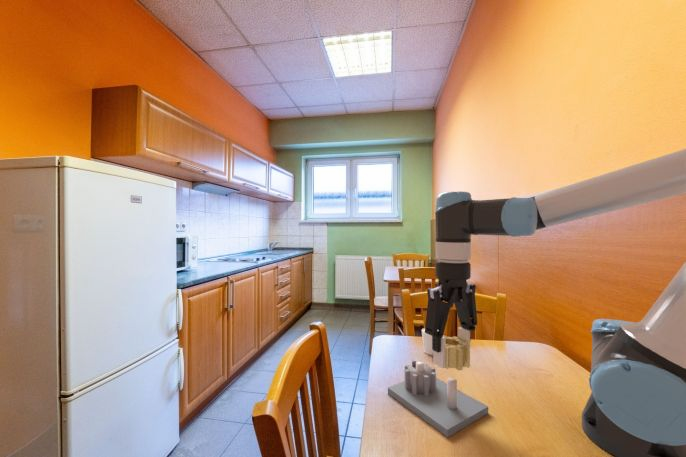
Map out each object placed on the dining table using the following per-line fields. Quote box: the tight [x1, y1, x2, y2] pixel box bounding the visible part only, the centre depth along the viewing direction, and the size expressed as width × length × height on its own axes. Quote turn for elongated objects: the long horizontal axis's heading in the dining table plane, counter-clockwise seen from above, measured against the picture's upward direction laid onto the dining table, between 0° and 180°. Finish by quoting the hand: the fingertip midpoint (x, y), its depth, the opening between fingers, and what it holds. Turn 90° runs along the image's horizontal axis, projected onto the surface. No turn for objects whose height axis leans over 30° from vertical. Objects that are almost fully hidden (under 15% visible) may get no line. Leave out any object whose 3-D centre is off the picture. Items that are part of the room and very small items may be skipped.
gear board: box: [387, 360, 489, 438], centre depth 68 cm, size 18×14×8 cm
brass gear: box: [443, 334, 471, 371], centre depth 65 cm, size 8×8×4 cm
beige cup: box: [421, 327, 433, 356], centre depth 97 cm, size 7×7×7 cm
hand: (451, 360), depth 65 cm, fingers closed on brass gear, 8 cm apart
